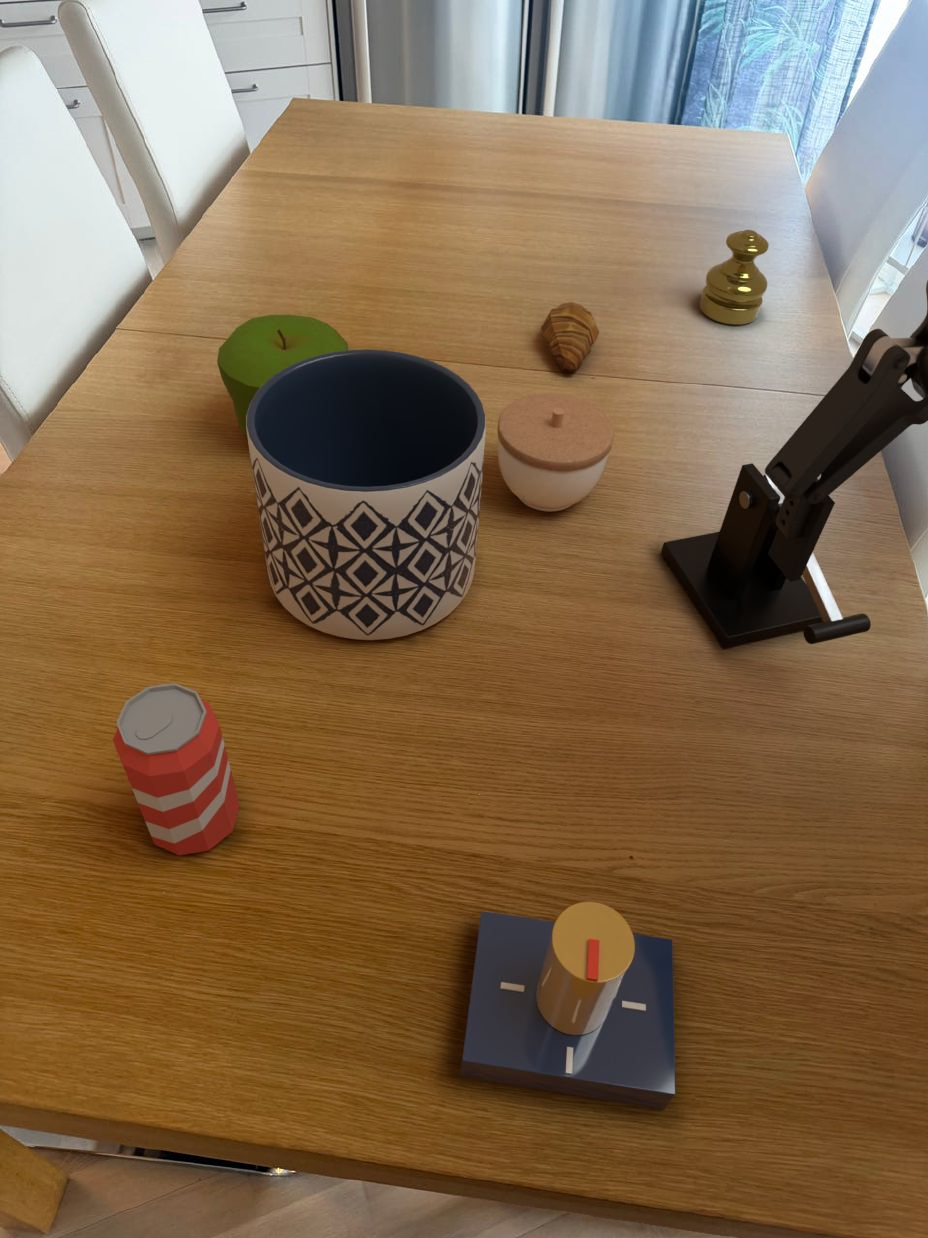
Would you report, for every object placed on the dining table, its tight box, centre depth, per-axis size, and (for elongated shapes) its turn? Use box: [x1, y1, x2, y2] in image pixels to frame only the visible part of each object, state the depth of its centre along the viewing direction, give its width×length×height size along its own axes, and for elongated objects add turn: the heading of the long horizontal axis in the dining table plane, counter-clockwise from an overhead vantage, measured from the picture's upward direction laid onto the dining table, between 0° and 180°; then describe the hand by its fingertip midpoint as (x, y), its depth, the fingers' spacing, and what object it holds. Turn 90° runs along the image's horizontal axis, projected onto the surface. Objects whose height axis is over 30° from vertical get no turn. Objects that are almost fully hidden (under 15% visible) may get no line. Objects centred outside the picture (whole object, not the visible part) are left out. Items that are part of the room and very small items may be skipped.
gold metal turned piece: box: [699, 229, 770, 326], centre depth 112 cm, size 7×7×10 cm
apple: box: [216, 314, 350, 437], centre depth 91 cm, size 12×12×11 cm
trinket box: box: [496, 392, 615, 513], centre depth 87 cm, size 11×11×9 cm
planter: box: [246, 348, 487, 641], centre depth 76 cm, size 18×18×16 cm
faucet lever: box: [763, 473, 872, 645], centre depth 73 cm, size 14×5×2 cm, turn 18°
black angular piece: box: [660, 463, 823, 650], centre depth 78 cm, size 12×10×13 cm
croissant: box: [540, 301, 600, 375], centre depth 107 cm, size 14×7×5 cm, turn 175°
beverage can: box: [112, 682, 241, 856], centre depth 60 cm, size 6×6×12 cm
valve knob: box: [536, 901, 635, 1035], centre depth 52 cm, size 4×4×8 cm
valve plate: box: [459, 910, 676, 1111], centre depth 56 cm, size 12×9×3 cm
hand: (871, 548), depth 62 cm, fingers open, 13 cm apart
